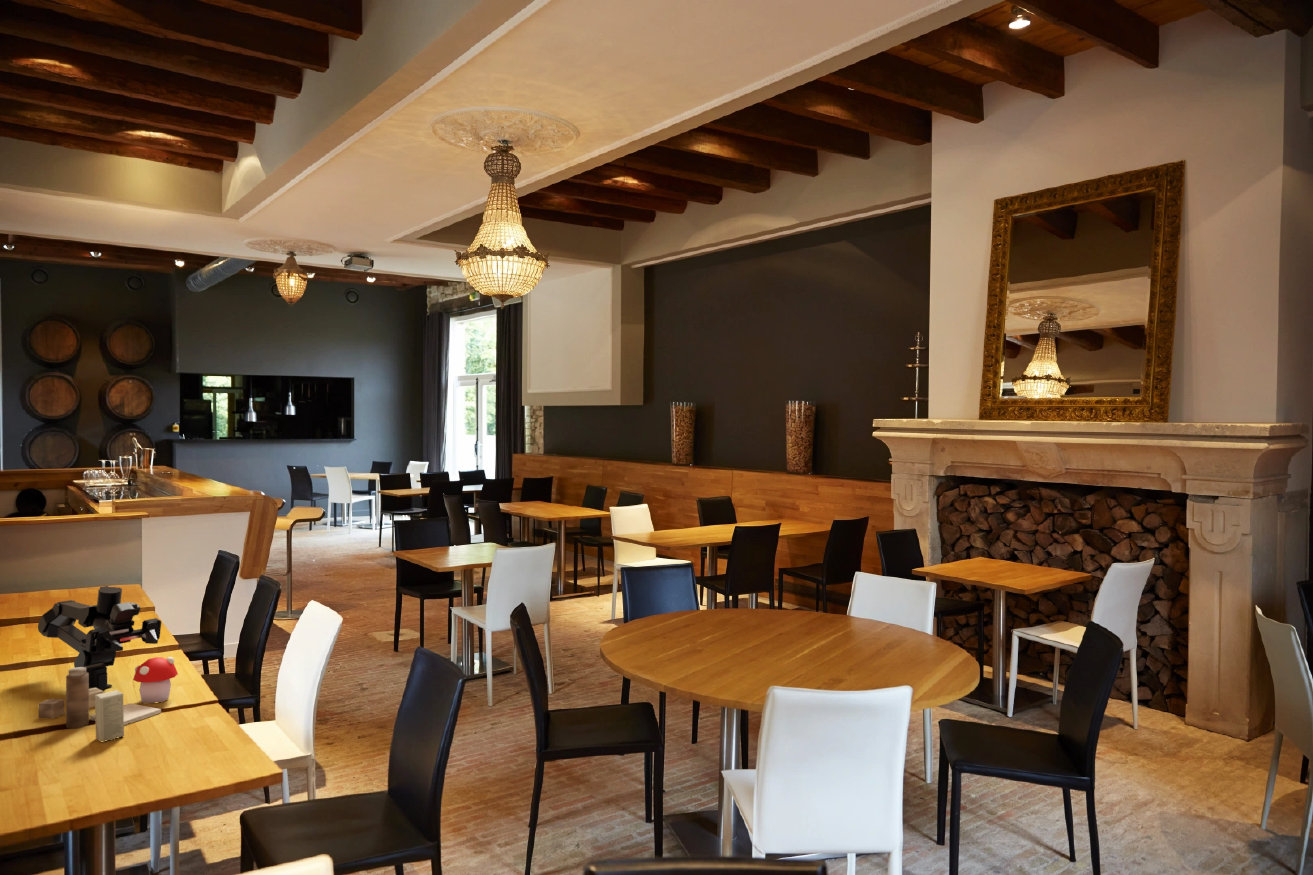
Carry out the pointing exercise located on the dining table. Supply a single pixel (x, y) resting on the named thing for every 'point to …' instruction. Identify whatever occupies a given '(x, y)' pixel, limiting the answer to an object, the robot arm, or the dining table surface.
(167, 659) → the mushroom
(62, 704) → the walnut block
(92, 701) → the oak block
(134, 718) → the plate
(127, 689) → the dining table surface
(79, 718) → the pepper mill
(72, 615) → the robot arm
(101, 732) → the box
